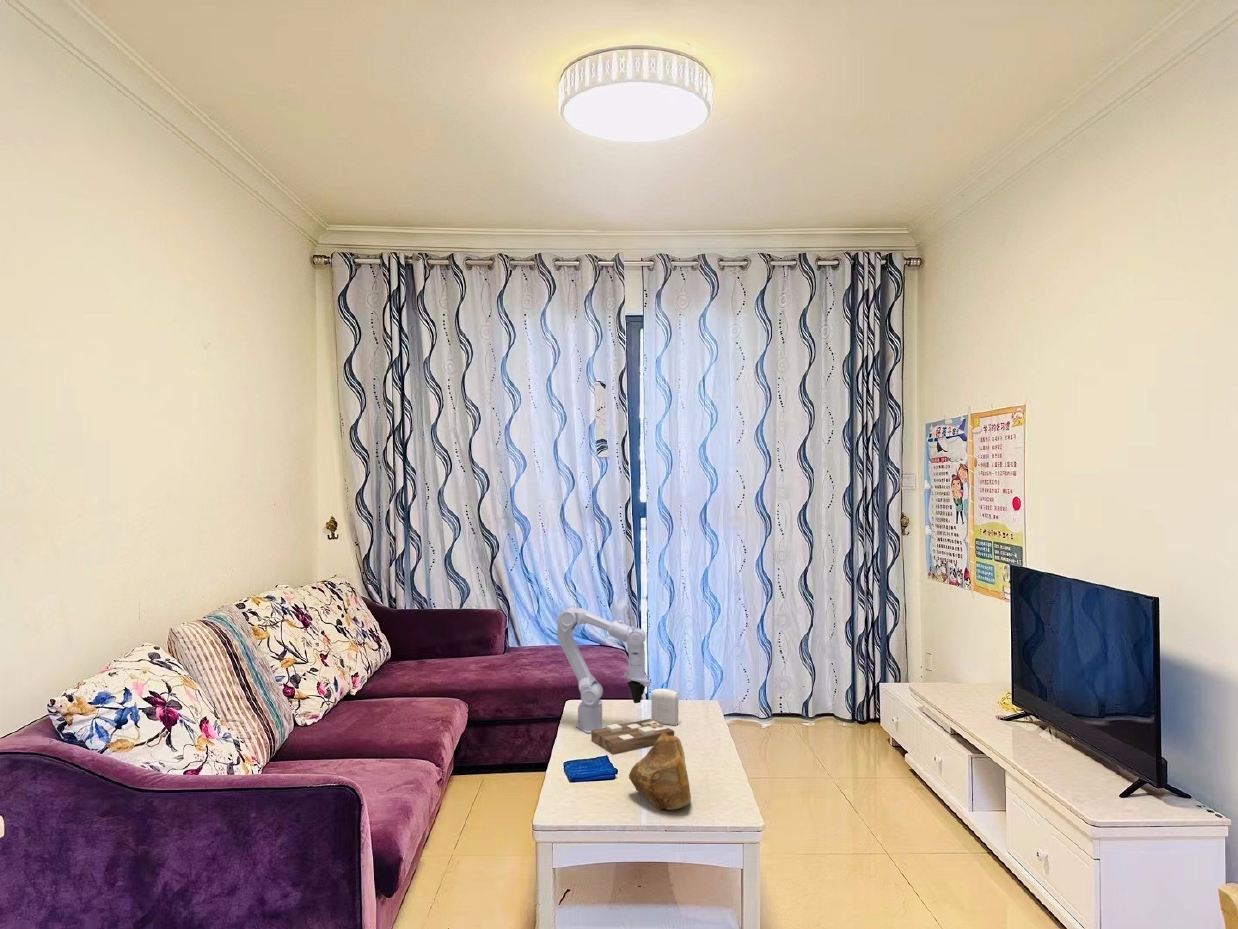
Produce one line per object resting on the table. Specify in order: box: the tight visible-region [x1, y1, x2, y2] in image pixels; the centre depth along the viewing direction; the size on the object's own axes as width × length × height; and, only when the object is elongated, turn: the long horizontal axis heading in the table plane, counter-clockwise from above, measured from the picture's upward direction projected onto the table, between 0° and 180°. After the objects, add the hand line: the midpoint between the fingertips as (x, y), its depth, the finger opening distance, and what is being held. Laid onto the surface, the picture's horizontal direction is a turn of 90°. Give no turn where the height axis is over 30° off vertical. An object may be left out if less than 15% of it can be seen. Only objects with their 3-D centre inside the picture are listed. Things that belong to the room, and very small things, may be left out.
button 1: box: [605, 723, 622, 733], centre depth 256 cm, size 4×4×1 cm
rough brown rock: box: [628, 733, 692, 811], centre depth 210 cm, size 23×17×15 cm
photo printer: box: [651, 688, 679, 726], centre depth 274 cm, size 10×4×12 cm, turn 67°
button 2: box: [618, 734, 634, 740], centre depth 249 cm, size 4×4×1 cm
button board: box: [590, 718, 675, 755], centre depth 255 cm, size 15×24×4 cm, turn 120°
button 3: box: [626, 723, 642, 729], centre depth 260 cm, size 4×4×1 cm
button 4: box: [638, 726, 655, 736], centre depth 253 cm, size 4×4×1 cm
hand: (637, 702), depth 264 cm, fingers closed
